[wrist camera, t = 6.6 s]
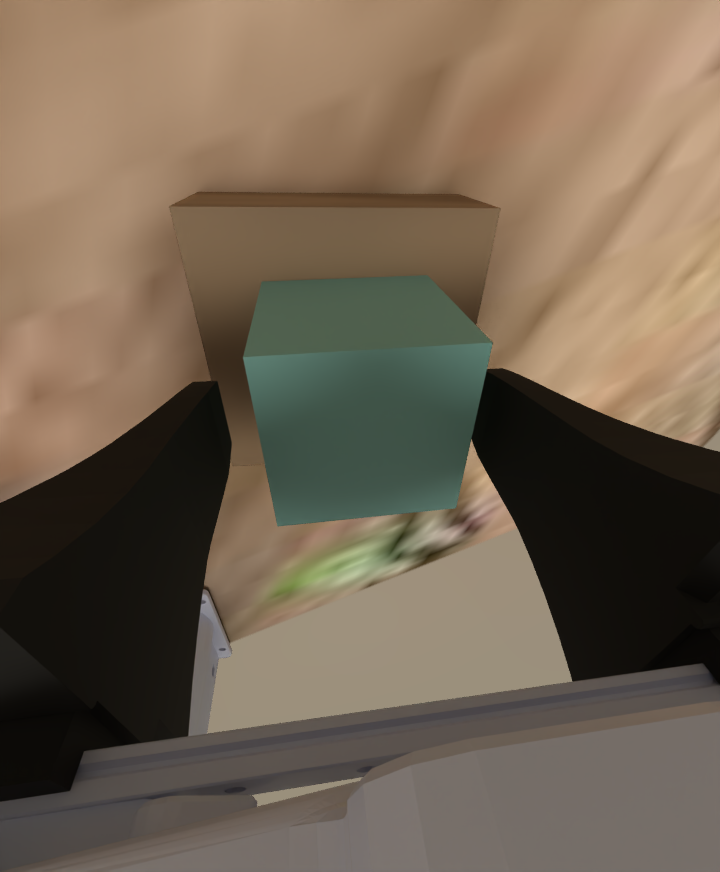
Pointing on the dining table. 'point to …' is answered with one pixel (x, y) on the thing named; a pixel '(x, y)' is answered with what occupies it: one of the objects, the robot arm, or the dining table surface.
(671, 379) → the dining table surface
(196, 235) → the walnut block
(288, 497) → the teal cube
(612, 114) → the dining table surface
